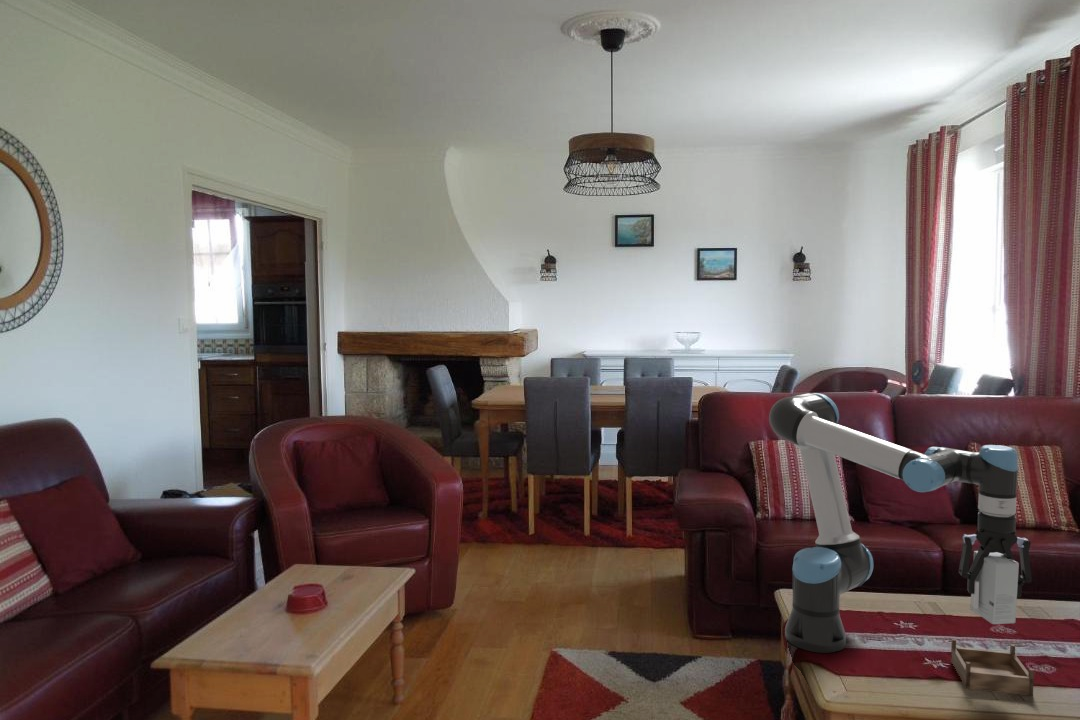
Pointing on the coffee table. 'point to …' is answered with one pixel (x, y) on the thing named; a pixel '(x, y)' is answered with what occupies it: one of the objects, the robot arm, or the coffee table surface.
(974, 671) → the box
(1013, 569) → the skincare box
